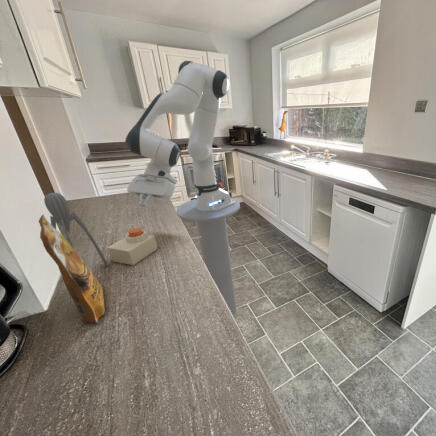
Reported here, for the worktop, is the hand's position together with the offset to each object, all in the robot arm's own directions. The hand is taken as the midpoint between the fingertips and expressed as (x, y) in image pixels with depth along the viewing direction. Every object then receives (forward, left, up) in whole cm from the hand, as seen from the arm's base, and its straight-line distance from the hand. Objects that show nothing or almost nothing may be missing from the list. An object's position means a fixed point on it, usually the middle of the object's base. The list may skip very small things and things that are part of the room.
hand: (143, 205), depth 97 cm
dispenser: (+9, +6, -17) cm, 20 cm away
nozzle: (+6, +5, -9) cm, 12 cm away
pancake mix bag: (+27, +27, -17) cm, 41 cm away
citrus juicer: (+25, +10, -17) cm, 31 cm away
